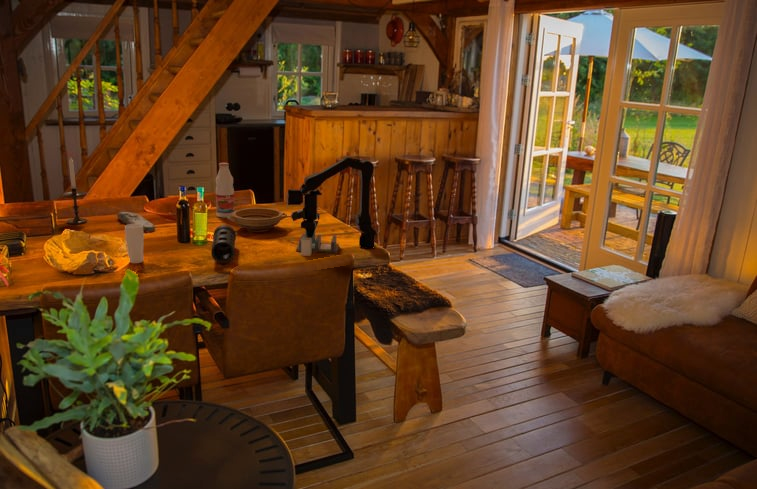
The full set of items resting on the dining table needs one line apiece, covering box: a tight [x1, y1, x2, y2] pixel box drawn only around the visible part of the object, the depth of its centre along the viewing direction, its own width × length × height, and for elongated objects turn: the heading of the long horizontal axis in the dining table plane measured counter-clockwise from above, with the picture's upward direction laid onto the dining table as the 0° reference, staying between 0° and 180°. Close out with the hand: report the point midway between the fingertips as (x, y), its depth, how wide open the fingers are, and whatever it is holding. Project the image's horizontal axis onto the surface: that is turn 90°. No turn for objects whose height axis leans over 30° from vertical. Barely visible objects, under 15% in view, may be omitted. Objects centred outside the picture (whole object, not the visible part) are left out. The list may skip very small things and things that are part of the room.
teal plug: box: [304, 228, 317, 244], centre depth 268 cm, size 4×4×7 cm
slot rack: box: [295, 233, 340, 254], centre depth 269 cm, size 18×11×5 cm, turn 89°
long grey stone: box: [116, 211, 156, 233], centre depth 295 cm, size 35×5×10 cm
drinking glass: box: [124, 224, 145, 264], centre depth 239 cm, size 7×7×15 cm
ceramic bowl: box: [227, 207, 288, 233], centre depth 296 cm, size 30×24×8 cm
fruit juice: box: [215, 162, 236, 219], centre depth 315 cm, size 9×9×28 cm
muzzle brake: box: [210, 224, 237, 266], centre depth 253 cm, size 10×28×10 cm, turn 12°
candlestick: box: [61, 150, 88, 226], centre depth 289 cm, size 11×11×35 cm
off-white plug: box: [300, 237, 313, 257], centre depth 260 cm, size 4×4×7 cm
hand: (310, 238), depth 268 cm, fingers closed on teal plug, 4 cm apart
